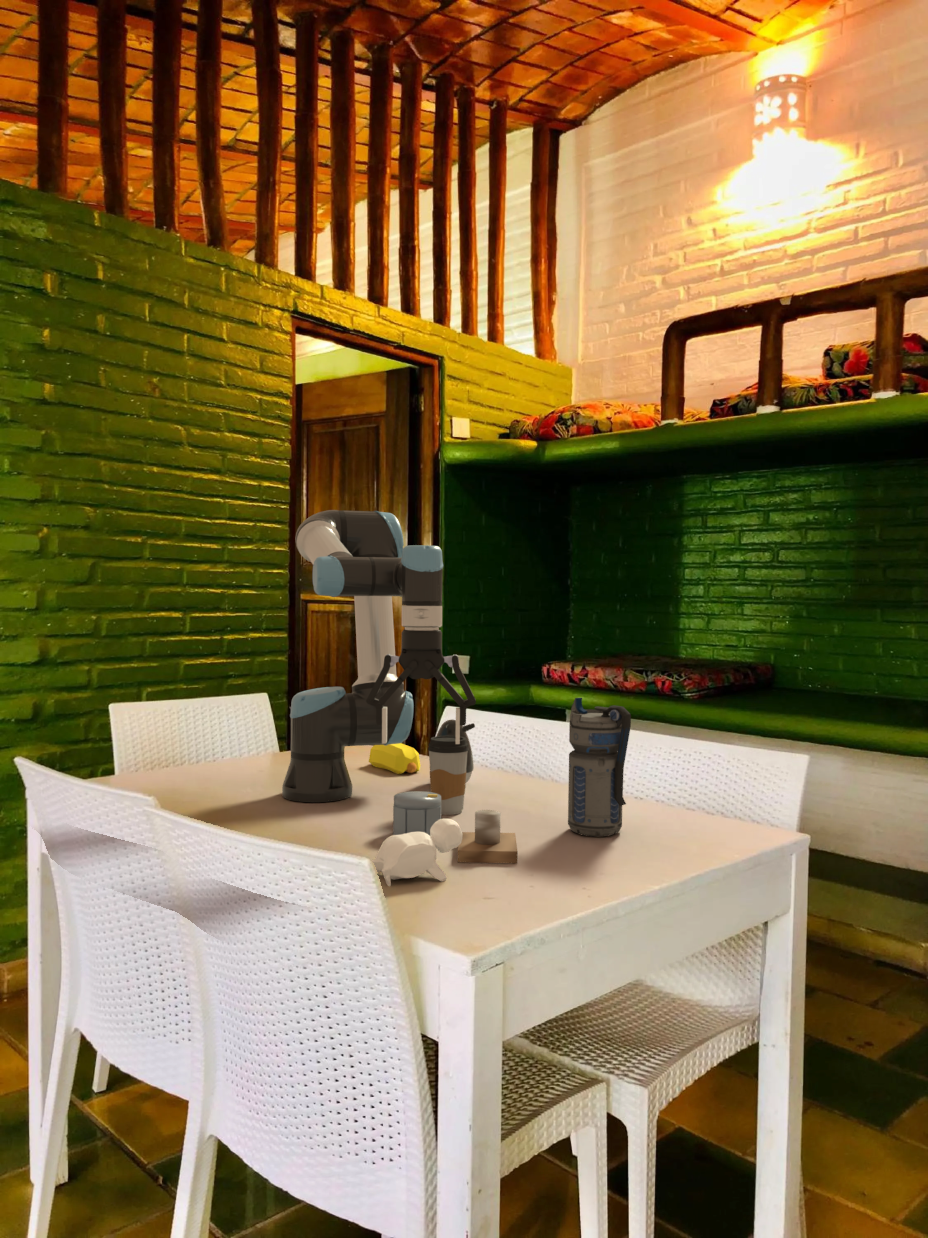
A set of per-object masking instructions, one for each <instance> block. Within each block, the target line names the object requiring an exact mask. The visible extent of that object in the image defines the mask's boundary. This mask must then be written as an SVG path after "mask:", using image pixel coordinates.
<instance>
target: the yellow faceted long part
mask: <svg viewBox="0 0 928 1238" xmlns="http://www.w3.org/2000/svg"><path fill="white" fill-rule="evenodd" d="M368 762H369V764H370V765H372V767H374V766H375V767H374V768H379V769H385V770H388V771H390V772H393V773H394V774H398V775H402V774H404V773H405V772H406V773H409V774H411V773H417V772H419V771H420V769H421V766H422V765H421V760H420V753H419V752H418V751H417V750H416V749H415V748H414V747H412V746H409V745H406V744H405V743H403V742H402V743H399V744H388V745H386V746H385V745H372V746H371V748H370V752H369V757H368Z"/></svg>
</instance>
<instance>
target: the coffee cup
mask: <svg viewBox="0 0 928 1238" xmlns="http://www.w3.org/2000/svg"><path fill="white" fill-rule="evenodd" d="M429 741H430V742H429V743H428V748H427V750H428V756H429V782H430V783H429V785H430V792H432V793H437V794H439V795H441V816H442V815H444V816H445V815H447V816H451V815H453V816H455V815H459V814H461V813H462V811H463V810H464V805H465V804H464V802H465V795H466V793H465V792H466V784H467V783H466V765H467V752H468V750H469V749H468V743H466V738H464V737H460V744H456V736H432V737H431V738H430V740H429ZM465 783H466V784H465Z"/></svg>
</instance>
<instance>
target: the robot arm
mask: <svg viewBox="0 0 928 1238" xmlns="http://www.w3.org/2000/svg"><path fill="white" fill-rule="evenodd" d="M402 530H403V529H402V526H401V524H400V521H399V519H398V518H397V517H396V515H394V514H393V513H391V512H384V511H378V510H373V511H371V510H370V511H369V510H365V511H363V510H338V509H328V510H324V511H323V510H322V511H319V512H317V513H314V514H312V515H311V516H309V517H308V518H306V519H305V520H304V521H302V522H301V524H300V525H299V526H298V528H297V530H296V533H295V539H294V540H295V546H296V548H297V551H298V552H299V554H300V555H301V556H302V558H303V559H304V560H306V561H308V562H310V563H311V564H312V585H313V591H314V593H315V594H316V595H318V596H328V597H333V598H335V597H353V598H354V616H355V618H354V619H355V621H354V622H355V634H356V636H355V638H356V639H355V640H356V656H357V657H356V659H357V660H356V662H357V676H358V677H357V679H356V680H355V682H353V684H352V685H351V693H350V692H349V693H347V692H346V690H345V688H344V687H343V686H326V687H317V688H310V689H307V690H303V691H300V692H297V693H296V694H295V695H293V697H292V699H291V703H290V704H291V706H290V714H289V717H290V760H289V765H288V768H287V771H286V774H285V777H284V779H283V783H282V791H281V792H282V797H283V798H284V799H286V800H289V801H294V802H301V803H325V802H328V803H329V802H336V801H341V800H345V799H348V798H350V797H351V796H352V795H353V784H352V780H351V777H350V774H349V770H348V767H347V763H346V760H345V747H360V746H364V747H365V746H374V745H385V746H386V745H388V744H399V743H402V744H403V743H404V742H405V741H406V740H407V739H408V737H409V736H410V732H411V729H412V724H413V718H414V706H415V705H414V699H413V694H412V693H411V692H410V691H407V690H405V688H404V687H405V684H404V682H405V680H406V679H407V678H408V677H409V678H410V679H412V680H419V679H423V680H430V679H432V678H435V680H436V681H437V682H438V683H439V684H440V685H441V686H442V687H443V689H444V690H445V691H446V692H447V693H448V694H449V696H450V697H451V698H452V699H453V701H454V702H455V703H456V704H457V705H458V706H459V707H456V706H455V720H456V744H460V725H462V726H466V724H467V708H469V707H471V706H475V705H476V702H477V701H476V698H475V695H474V693H473V692H472V689H471V687H470V685H469V683H468V681H467V679H466V677H465V675H464V673H463V671H462V669H461V666H460V662H459V660H460V659H459V655H457V654H453V655H447V656H444V655H443V632H442V630H441V629H439V628H442V627H443V568H444V562H443V551H442V549H441V547H440V546H438V545H428V544H426V545H422V544H421V545H419V544H418V545H417V544H415V545H414V544H413V545H406V546H404V535H403V531H402ZM393 597H400V598H401V626H402V627H404V629H402V631H401V646H400V647H401V649H400V650H401V652H400V655H396V647H395V646H396V643H395V630H394V629H395V627H394V613H393V612H394V611H393ZM397 663H399V665H400V666H401V667H402V668H401V669H403V671H402V672H401V674H399V676H397V665H396V664H397ZM444 663H446V664H447V665H448V667H450V668H452V670H453V672H454V674H455V676H456V678H457V680H458V682H459V685H460V687H461V689H462V690H463V693H464V695H465V697H466V699H464V698H463V697H462V696H461V695H460V693H458V691H457V690H456V689H455V687H454V686H453V685H452V684H451V682H449V680H448V679H447V678H446V676H445V675H444V674H443V673H442V671H441V670H440V669H441V667H442V666H443V665H444Z"/></svg>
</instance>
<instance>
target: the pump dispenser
mask: <svg viewBox="0 0 928 1238" xmlns="http://www.w3.org/2000/svg"><path fill="white" fill-rule="evenodd" d="M474 728H476V725H475V723H469V724H467V725H466V724H465V725H460V737H464V738H466V743H468V749H469V750H468V752H467V765H466V783H465V785H466V784H467V783H468V782H469V781H470V779H471V777H472V774H473V771H474V758H473V756H474V755H473V750H472V746H471V741H470V739H469V736H468V733H467V732H469V731H470V730H473V729H474ZM436 736H456V719H447V720H445V721H444V722H443V723H442V724H441V725H440V727H439V729H438V731H437V733H436ZM436 736H435V737H436Z"/></svg>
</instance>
